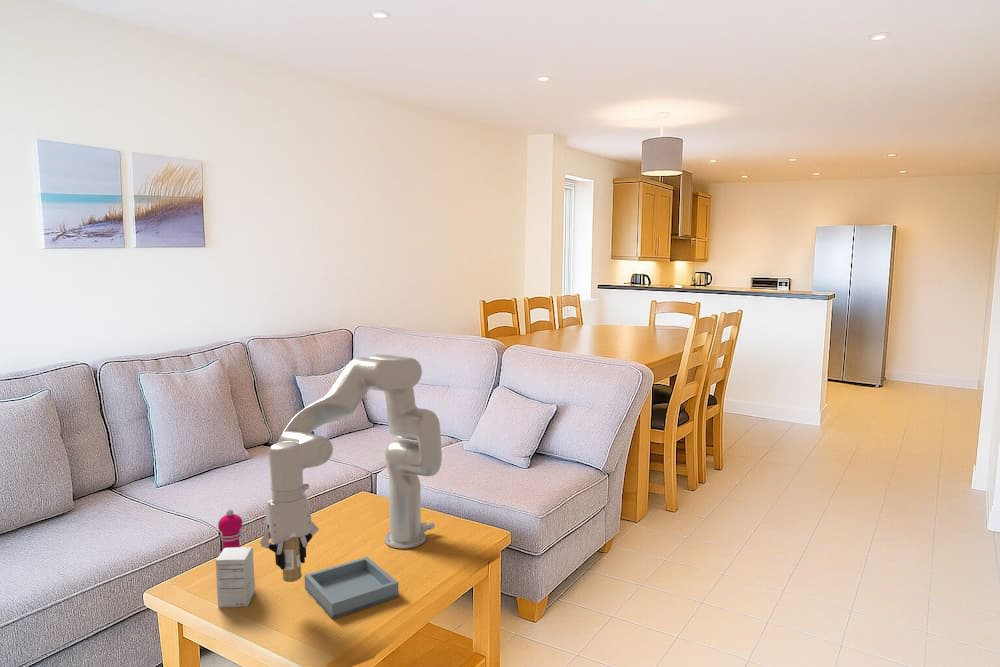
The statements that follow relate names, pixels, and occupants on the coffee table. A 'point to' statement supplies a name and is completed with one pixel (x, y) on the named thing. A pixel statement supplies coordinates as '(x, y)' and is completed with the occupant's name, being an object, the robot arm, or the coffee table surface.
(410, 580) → the coffee table surface
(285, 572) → the sprinkles bottle
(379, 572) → the tray
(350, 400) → the robot arm
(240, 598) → the supplement box
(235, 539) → the pepper mill
